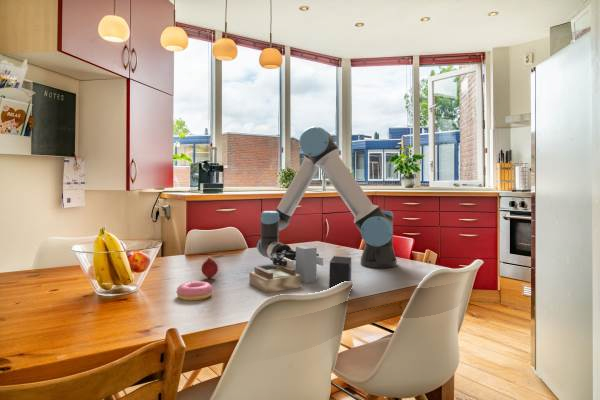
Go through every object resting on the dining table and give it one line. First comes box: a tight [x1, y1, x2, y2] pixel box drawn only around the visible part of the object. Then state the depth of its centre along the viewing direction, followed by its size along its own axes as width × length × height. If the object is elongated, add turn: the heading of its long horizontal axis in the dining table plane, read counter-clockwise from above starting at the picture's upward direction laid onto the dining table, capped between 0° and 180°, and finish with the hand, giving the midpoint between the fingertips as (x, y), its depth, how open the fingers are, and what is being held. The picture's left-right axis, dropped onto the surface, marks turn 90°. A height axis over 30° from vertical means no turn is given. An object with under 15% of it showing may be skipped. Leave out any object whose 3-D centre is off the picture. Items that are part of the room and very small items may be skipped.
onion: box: [201, 256, 219, 279], centre depth 146 cm, size 6×6×8 cm
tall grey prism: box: [295, 244, 318, 284], centre depth 144 cm, size 5×6×12 cm
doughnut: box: [175, 280, 214, 302], centre depth 124 cm, size 11×11×4 cm
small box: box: [328, 255, 352, 289], centre depth 130 cm, size 11×6×10 cm, turn 168°
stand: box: [248, 263, 302, 293], centre depth 137 cm, size 13×13×6 cm
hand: (307, 263), depth 141 cm, fingers open, 12 cm apart
